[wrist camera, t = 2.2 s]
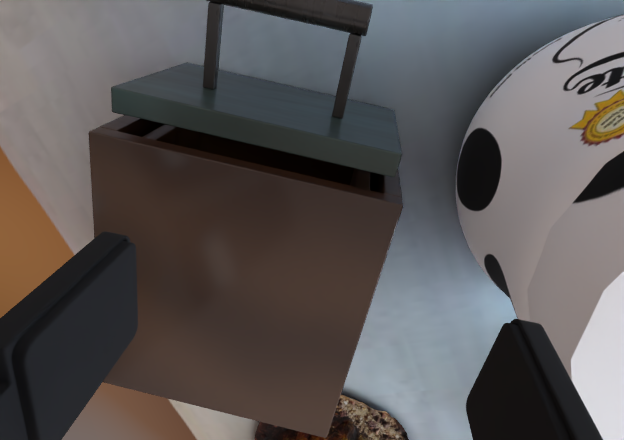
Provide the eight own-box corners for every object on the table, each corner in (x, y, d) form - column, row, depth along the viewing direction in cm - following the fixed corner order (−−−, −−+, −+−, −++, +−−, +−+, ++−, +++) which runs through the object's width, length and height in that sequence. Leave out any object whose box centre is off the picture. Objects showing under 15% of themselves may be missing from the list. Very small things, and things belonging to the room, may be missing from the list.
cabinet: (181, 88, 29) (87, 131, 20) (394, 137, 29) (403, 205, 19) (172, 284, 37) (101, 382, 28) (339, 324, 37) (326, 438, 27)
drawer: (191, -37, 25) (106, -54, 17) (421, 14, 24) (443, 21, 17) (176, 261, 35) (117, 337, 27) (339, 301, 34) (329, 390, 26)
